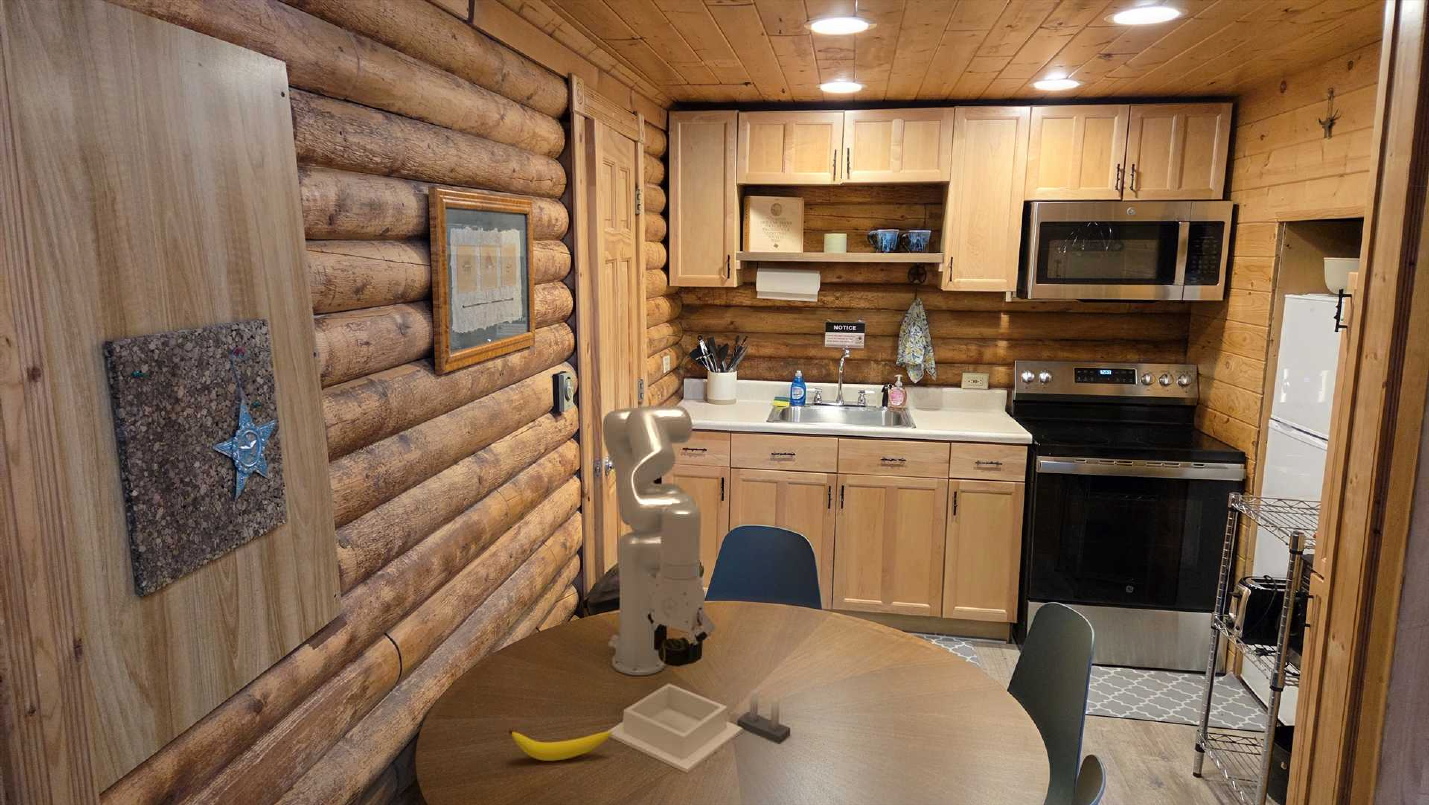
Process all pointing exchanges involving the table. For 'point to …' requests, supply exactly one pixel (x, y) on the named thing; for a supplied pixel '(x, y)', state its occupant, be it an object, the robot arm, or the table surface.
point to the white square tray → (676, 727)
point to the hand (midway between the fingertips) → (677, 654)
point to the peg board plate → (764, 721)
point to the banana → (559, 746)
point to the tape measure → (674, 651)
